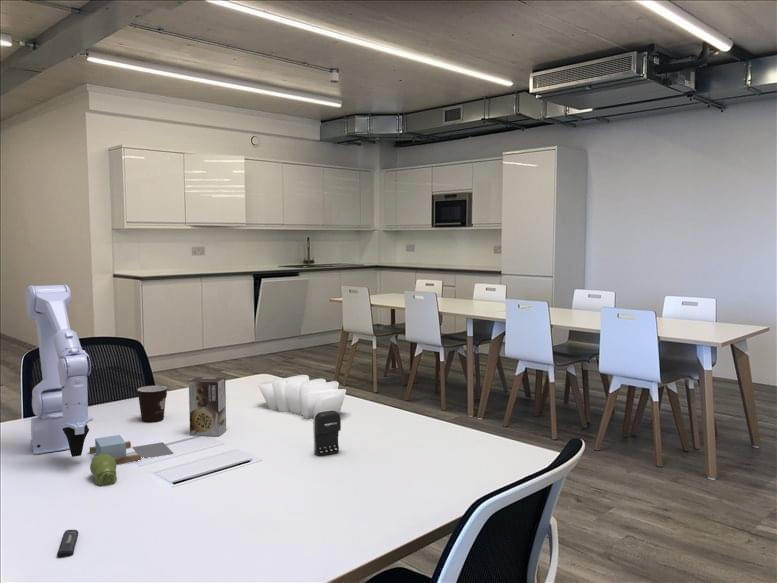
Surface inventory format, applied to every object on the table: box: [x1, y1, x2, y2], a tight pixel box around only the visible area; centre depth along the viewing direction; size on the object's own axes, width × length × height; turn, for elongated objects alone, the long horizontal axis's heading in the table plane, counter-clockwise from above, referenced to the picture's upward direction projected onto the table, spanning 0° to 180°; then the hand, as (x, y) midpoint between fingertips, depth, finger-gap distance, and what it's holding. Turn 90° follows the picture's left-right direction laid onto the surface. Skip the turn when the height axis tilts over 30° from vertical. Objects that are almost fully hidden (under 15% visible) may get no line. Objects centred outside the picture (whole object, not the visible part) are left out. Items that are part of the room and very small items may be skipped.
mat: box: [132, 442, 174, 459], centre depth 168 cm, size 8×11×1 cm
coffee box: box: [188, 376, 227, 437], centre depth 184 cm, size 9×6×16 cm
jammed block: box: [94, 434, 127, 458], centre depth 162 cm, size 6×8×4 cm
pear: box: [89, 454, 118, 487], centre depth 147 cm, size 6×5×10 cm
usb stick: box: [56, 529, 79, 559], centre depth 115 cm, size 10×3×2 cm, turn 20°
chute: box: [89, 440, 142, 466], centre depth 163 cm, size 10×13×2 cm
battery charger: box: [312, 410, 342, 456], centre depth 167 cm, size 7×4×11 cm, turn 121°
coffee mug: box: [137, 385, 168, 424], centre depth 198 cm, size 12×9×10 cm
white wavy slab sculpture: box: [257, 374, 347, 420], centre depth 209 cm, size 35×16×11 cm, turn 47°
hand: (76, 455), depth 158 cm, fingers closed
